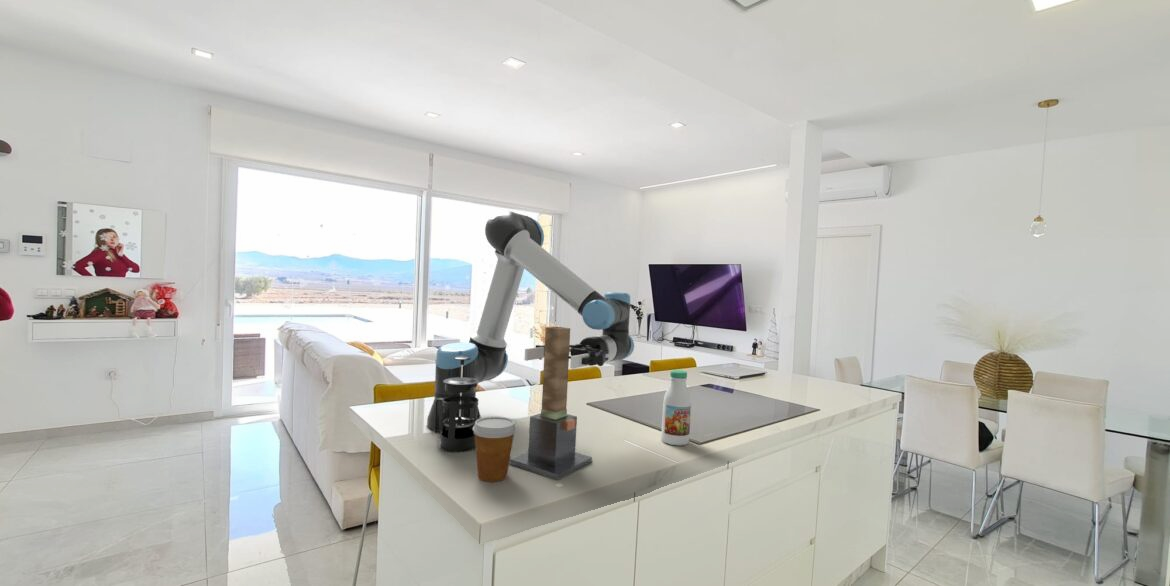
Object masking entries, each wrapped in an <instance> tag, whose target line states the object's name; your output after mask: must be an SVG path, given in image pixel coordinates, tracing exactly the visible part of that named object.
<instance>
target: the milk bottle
mask: <svg viewBox="0 0 1170 586" xmlns="http://www.w3.org/2000/svg"><path fill="white" fill-rule="evenodd" d="M669 375H670V376H669V378H670V382H669V386H668V387H667V390H666V391H665V393H664V396H663V402H662V414H661V415H662V417H661V418H662V419H661V435H660V437H661V438H660V439H661V441H662V442H663V443H665V444H667V445H672V446H686V445H688V444H689V441H690V429H691V413H692V412H691V410H692V409H691V408H692V407H691V406H692V403H691V402H692V401H691V397H690V396H691V395H690V393H689V390H688V387H687V382H686V381H687V380H688V379H687V377H688V372H687V371H685V370H682V369H681V370H680V369H672V370H670V374H669Z"/></svg>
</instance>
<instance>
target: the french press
mask: <svg viewBox="0 0 1170 586" xmlns="http://www.w3.org/2000/svg"><path fill="white" fill-rule="evenodd" d="M454 359H456V360H460V365H461V377H457V378H449V379H445V380H444V381H443V383H445V390H446V391H448V392H455V393H460V396H450V397H446V398H438V399H436V413H435V430H434V434H440V443H439V449H440V450H442V451H444V452H449V453H464V452H469V451H472V450H476V445H475V434H474V431H473V429H470V427H471V426H474V425H475V421H477V414H478V409H479V398H477V396H476V397H472V396H462V393H464V392H467V391H469V390H470V389H471V388H472V387H476V388H477V386H478V384H479V380H478V379H474V378H466V377H462V373H463V365H464V360H470V359H471V358H469V357H464V356H460V357H455V358H454ZM440 401H442V406H443V414H442V430H439V416H440ZM451 401H460V404H451V403H447V402H451ZM461 401H464V404H461ZM471 402H473V403H471ZM446 408H449V418H447V419H446ZM470 408H474V419H473V418H470ZM456 409H460V410H459V417H456ZM461 409H464V417H461ZM446 427H449V429H448V430H446Z"/></svg>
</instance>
